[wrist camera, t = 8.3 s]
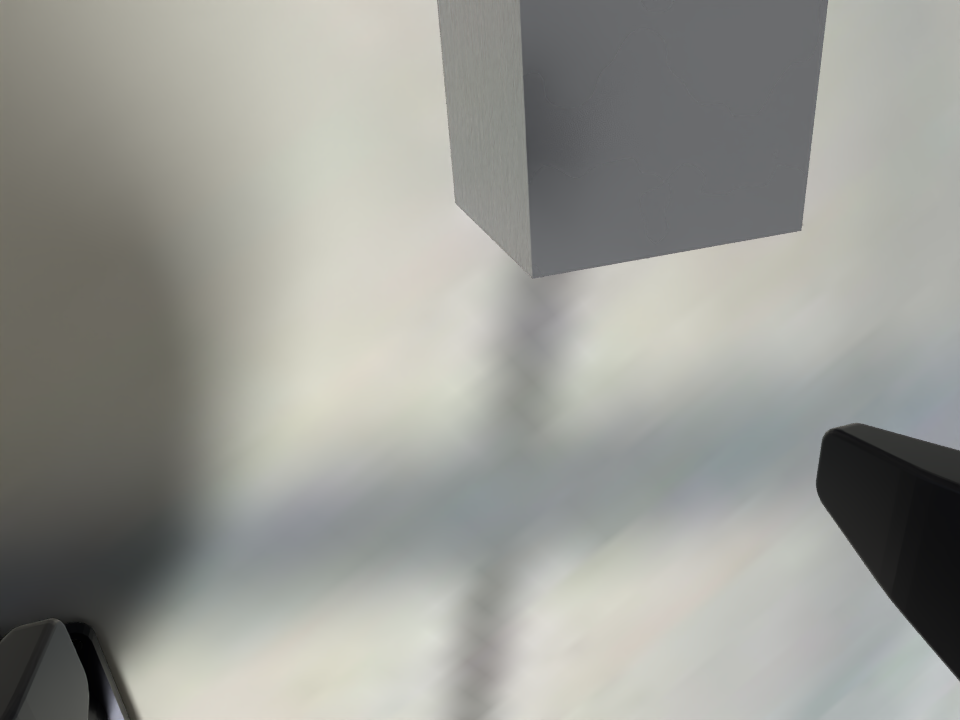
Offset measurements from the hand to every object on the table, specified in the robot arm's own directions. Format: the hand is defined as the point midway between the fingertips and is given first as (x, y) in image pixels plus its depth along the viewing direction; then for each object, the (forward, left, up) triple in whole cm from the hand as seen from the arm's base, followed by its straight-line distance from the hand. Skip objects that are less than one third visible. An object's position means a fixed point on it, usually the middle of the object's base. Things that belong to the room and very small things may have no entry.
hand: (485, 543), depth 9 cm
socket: (+4, -6, -13) cm, 14 cm away
